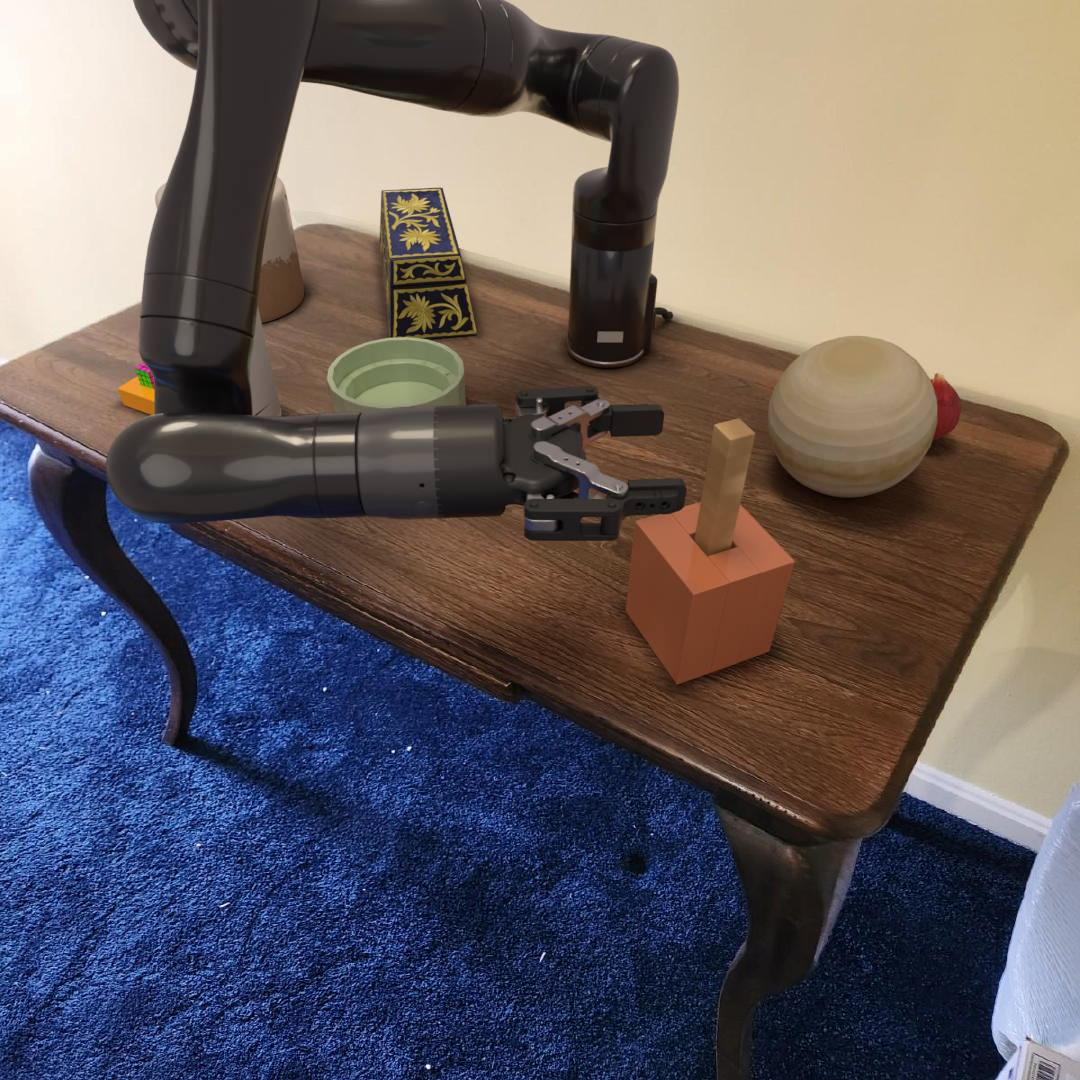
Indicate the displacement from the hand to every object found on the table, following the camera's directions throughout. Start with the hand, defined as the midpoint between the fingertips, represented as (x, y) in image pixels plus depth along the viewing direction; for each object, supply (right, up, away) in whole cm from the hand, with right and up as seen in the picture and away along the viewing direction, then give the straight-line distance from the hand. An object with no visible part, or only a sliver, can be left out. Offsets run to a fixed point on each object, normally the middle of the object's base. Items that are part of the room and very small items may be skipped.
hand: (672, 455), depth 58 cm
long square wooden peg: (+4, -13, +12) cm, 18 cm away
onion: (+31, +5, +33) cm, 45 cm away
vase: (-48, +26, +55) cm, 78 cm away
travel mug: (-39, +6, +34) cm, 52 cm away
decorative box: (-25, +29, +59) cm, 70 cm away
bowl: (-24, +8, +35) cm, 44 cm away
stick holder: (+4, -13, +12) cm, 18 cm away
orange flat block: (-50, +10, +38) cm, 63 cm away
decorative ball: (+20, 0, +28) cm, 34 cm away
